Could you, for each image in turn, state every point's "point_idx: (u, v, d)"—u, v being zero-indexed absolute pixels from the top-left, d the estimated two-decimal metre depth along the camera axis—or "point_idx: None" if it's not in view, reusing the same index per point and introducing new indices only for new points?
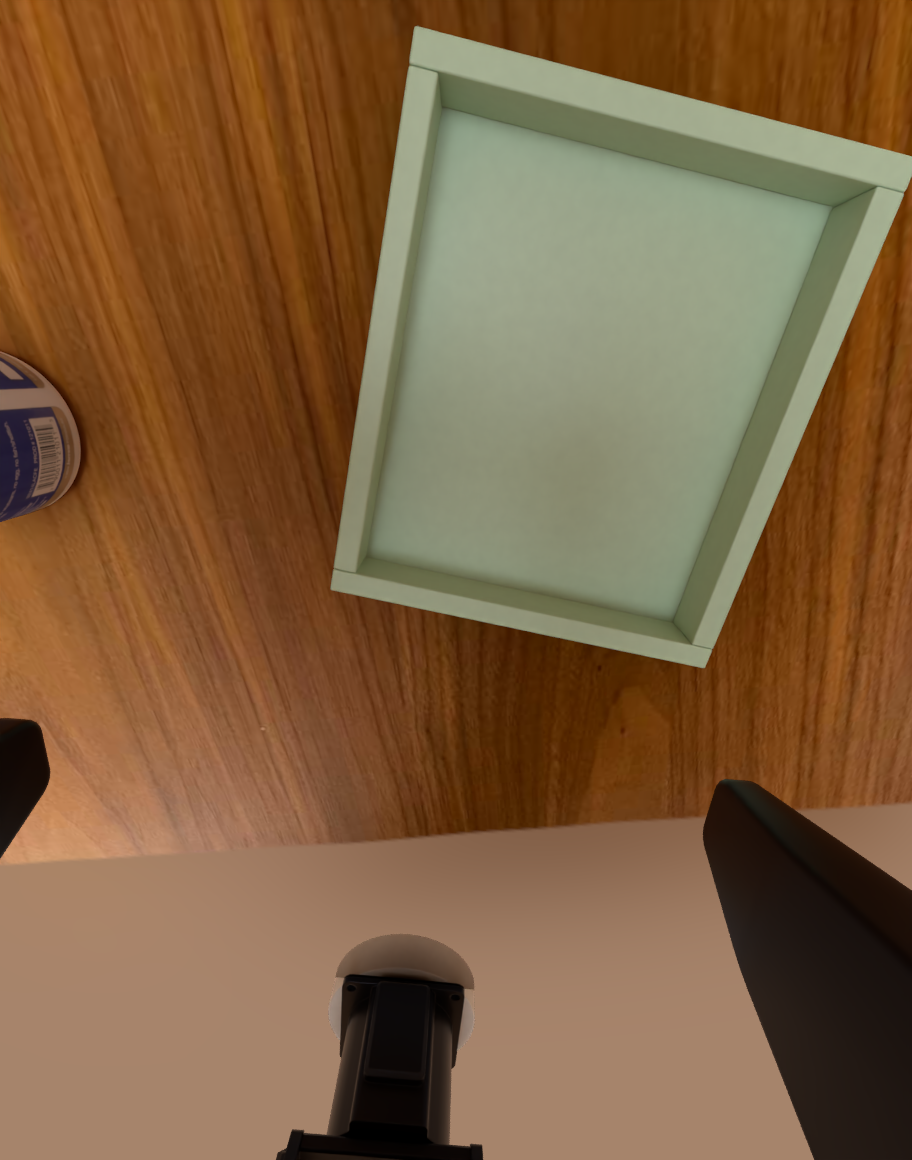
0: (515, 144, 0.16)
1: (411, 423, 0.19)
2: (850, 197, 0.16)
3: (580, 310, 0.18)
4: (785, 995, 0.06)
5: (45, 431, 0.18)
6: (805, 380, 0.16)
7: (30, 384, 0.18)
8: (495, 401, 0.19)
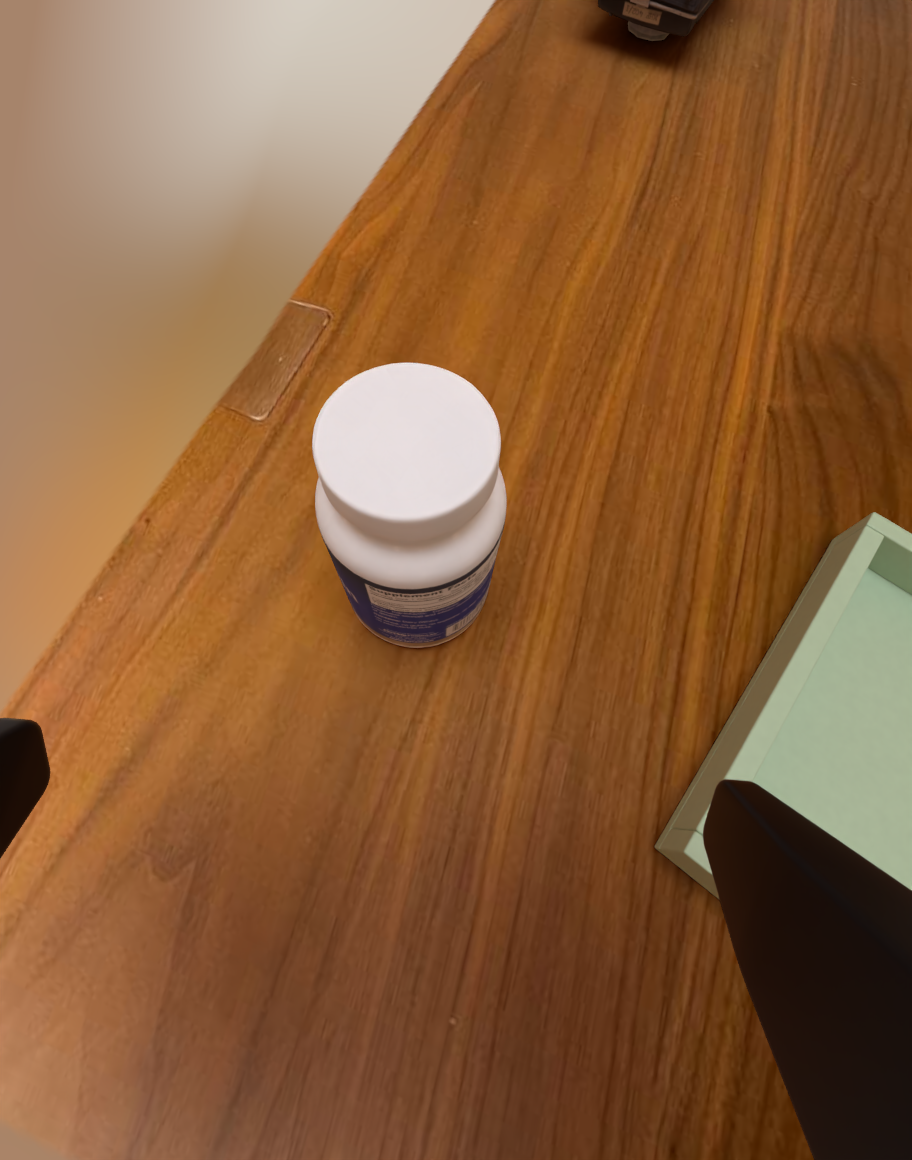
0: (897, 596, 0.23)
1: (775, 738, 0.20)
2: None
3: None
4: (785, 995, 0.06)
5: (487, 592, 0.21)
6: None
7: None
8: (856, 756, 0.20)
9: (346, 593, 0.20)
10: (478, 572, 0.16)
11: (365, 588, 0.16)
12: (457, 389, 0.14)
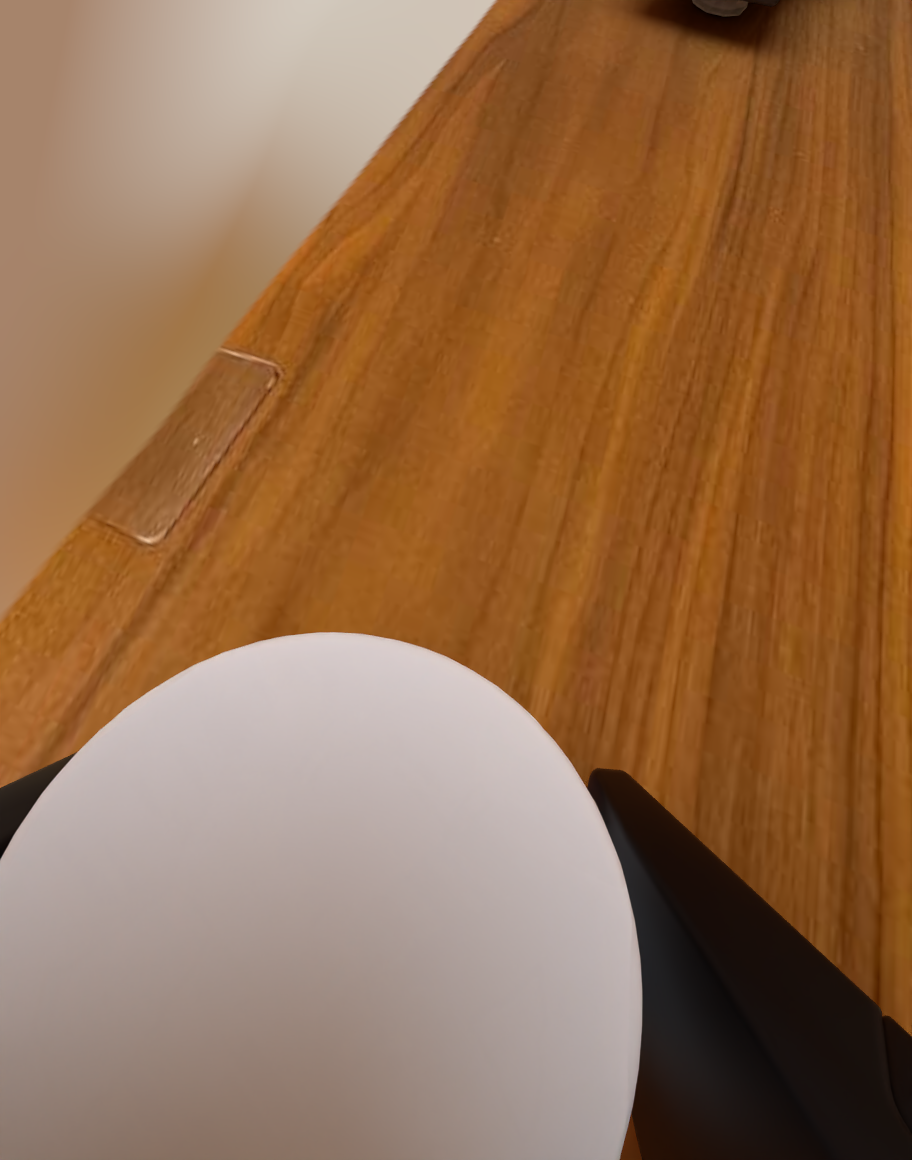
0: None
1: None
2: None
3: None
4: None
5: None
6: None
7: None
8: None
9: None
10: None
11: None
12: (487, 741, 0.04)
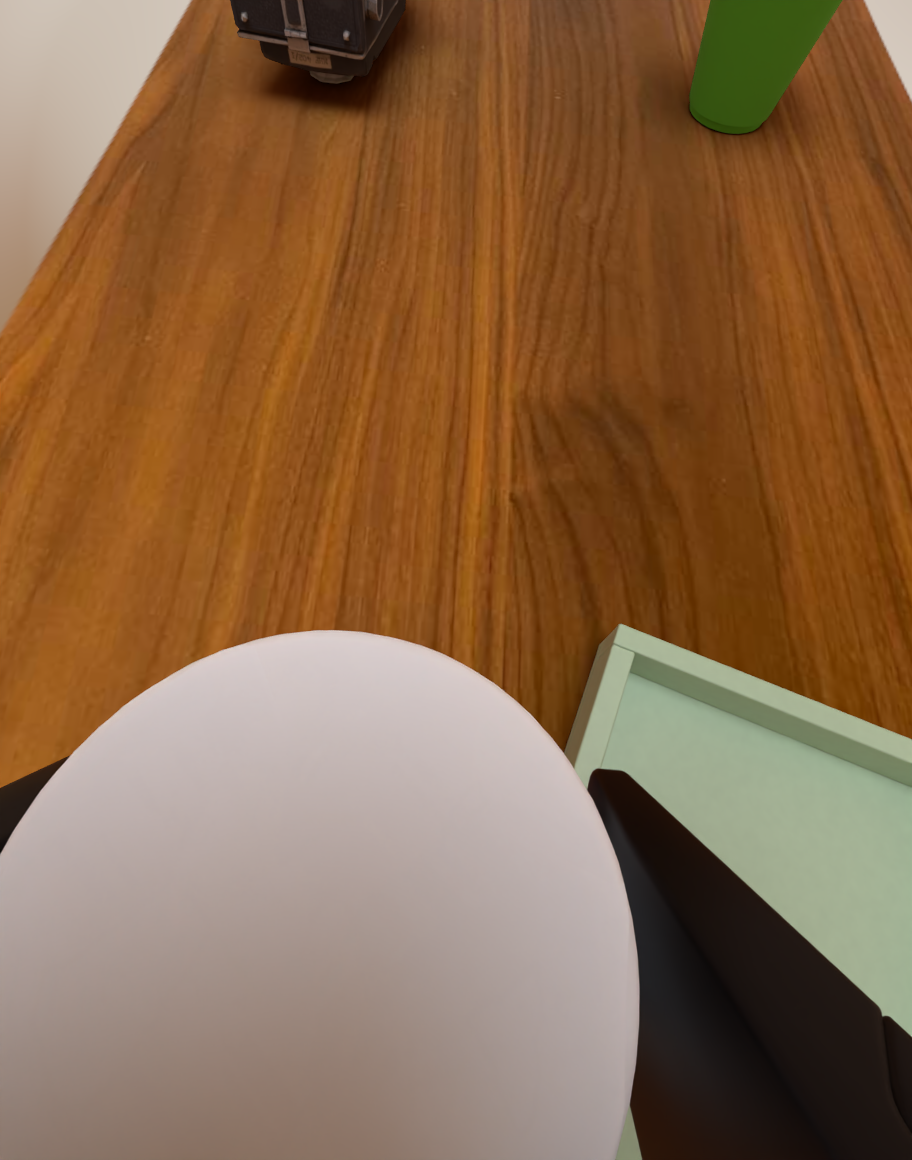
0: (675, 703, 0.20)
1: None
2: None
3: (741, 851, 0.18)
4: None
5: None
6: None
7: None
8: None
9: None
10: None
11: None
12: (485, 738, 0.04)
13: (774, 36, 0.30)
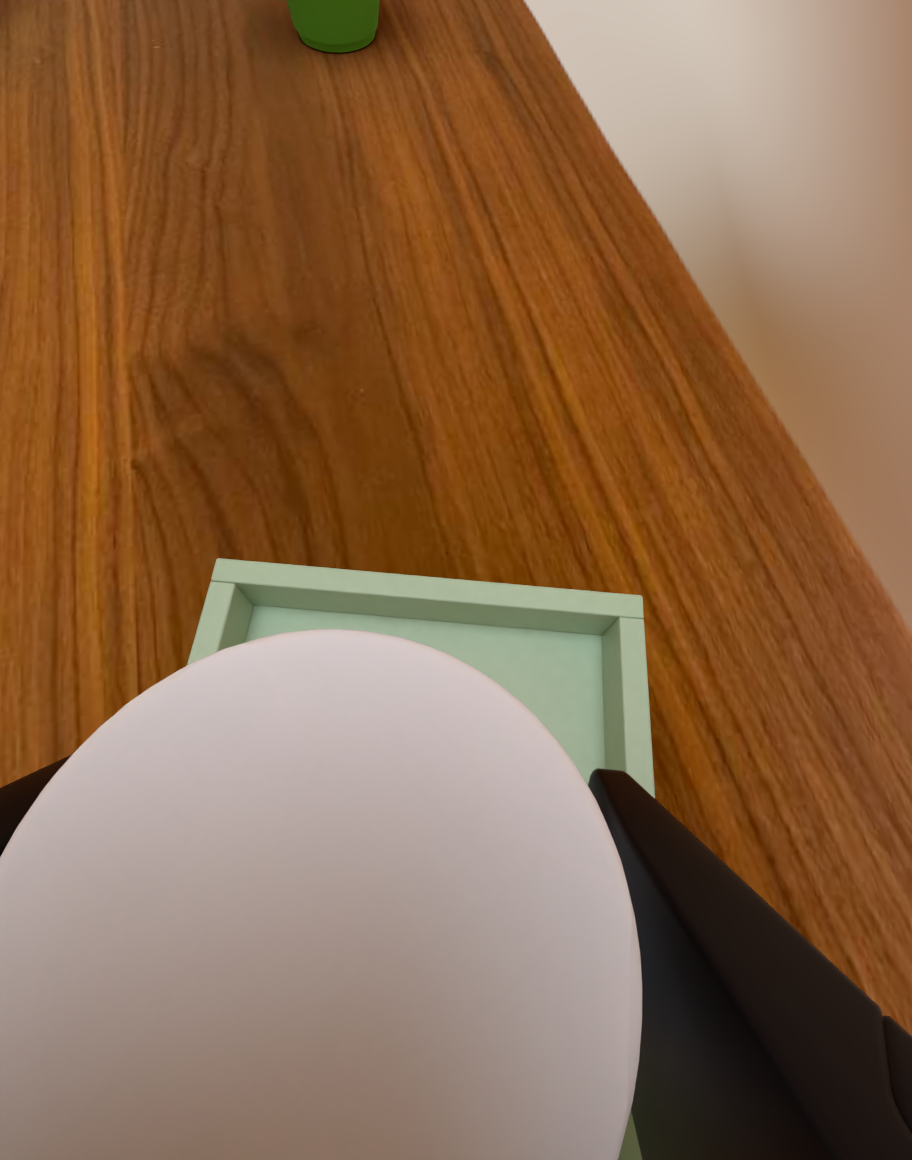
0: (318, 623, 0.19)
1: None
2: (607, 627, 0.18)
3: None
4: None
5: None
6: None
7: None
8: None
9: None
10: None
11: None
12: (487, 737, 0.04)
13: None
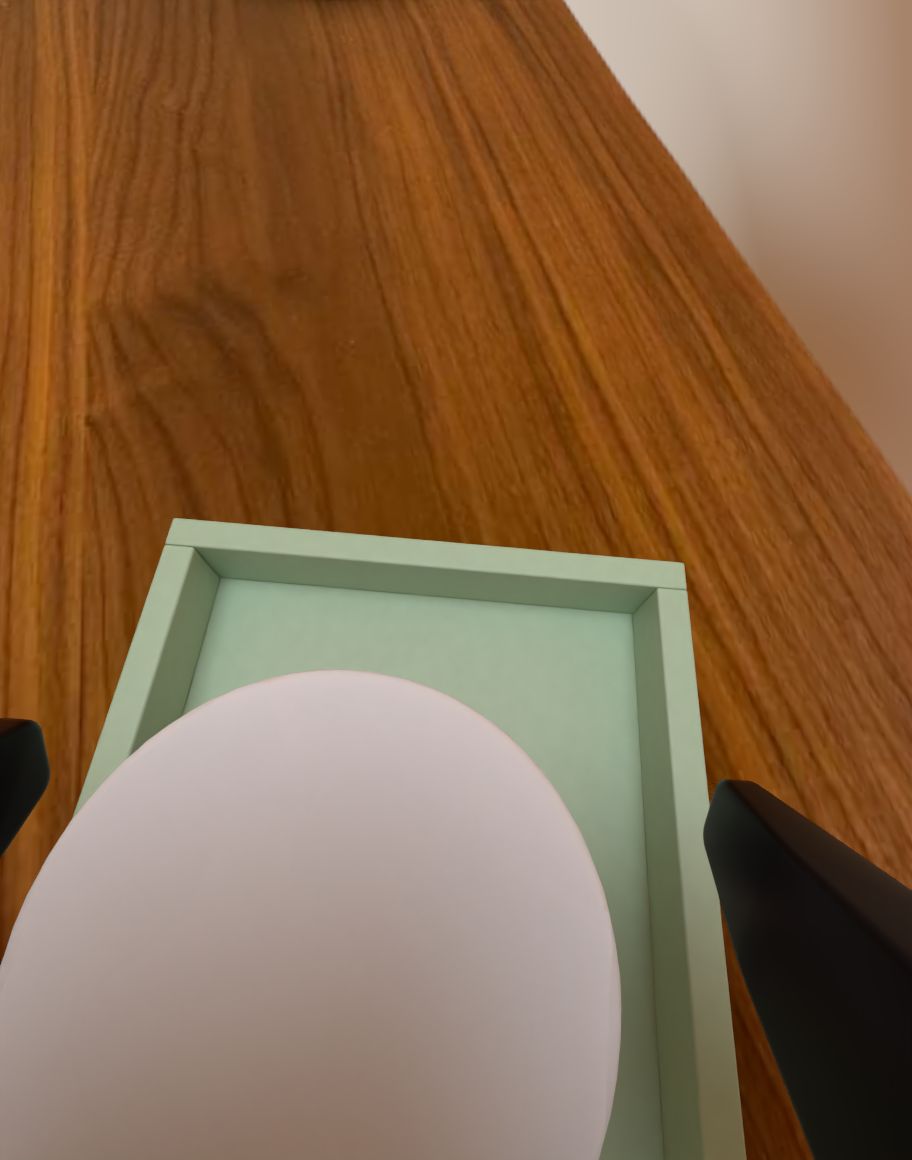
0: (296, 598, 0.16)
1: None
2: (641, 602, 0.15)
3: None
4: (785, 995, 0.06)
5: None
6: (682, 792, 0.12)
7: None
8: None
9: None
10: None
11: None
12: (481, 773, 0.05)
13: None
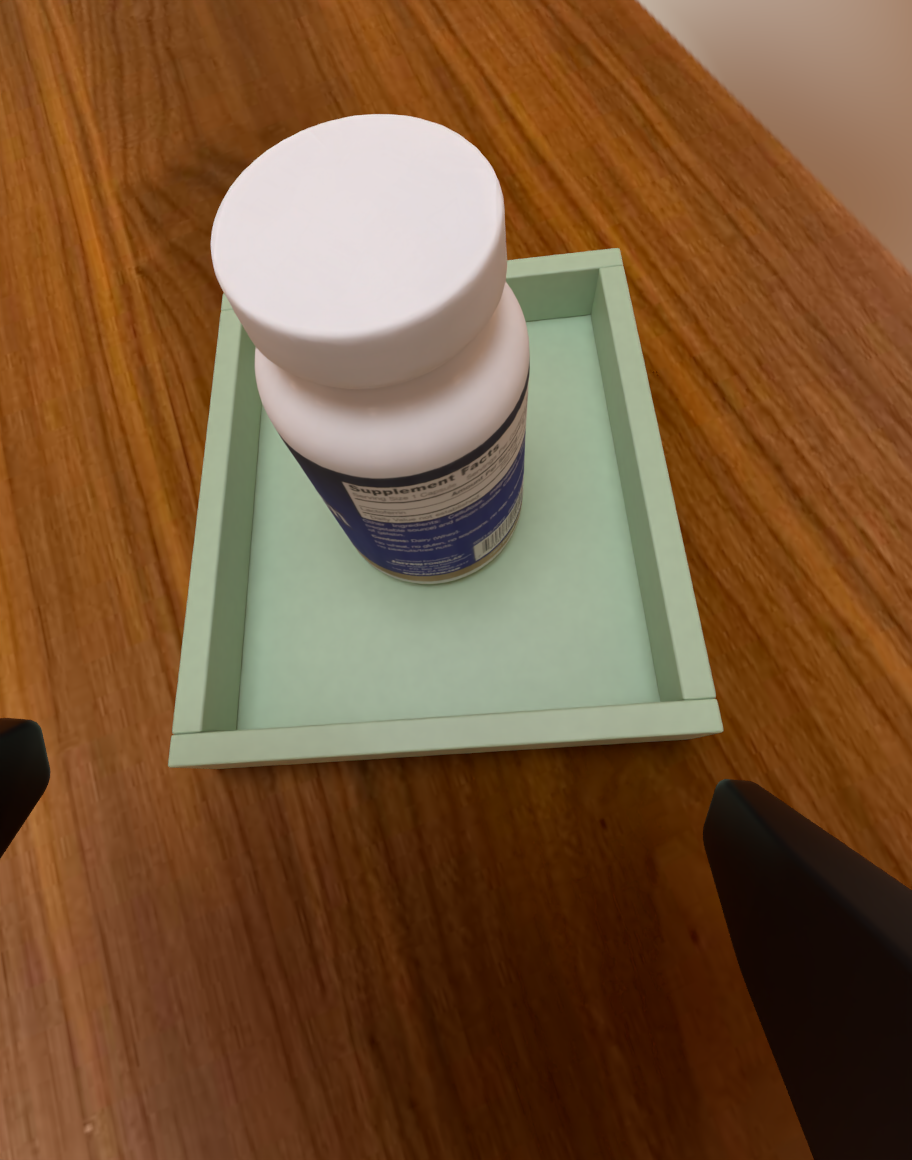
0: None
1: (273, 570, 0.18)
2: (592, 294, 0.19)
3: None
4: (785, 995, 0.06)
5: (521, 495, 0.16)
6: (630, 391, 0.16)
7: None
8: None
9: (338, 522, 0.15)
10: (502, 444, 0.11)
11: (346, 492, 0.11)
12: (424, 137, 0.09)
13: None
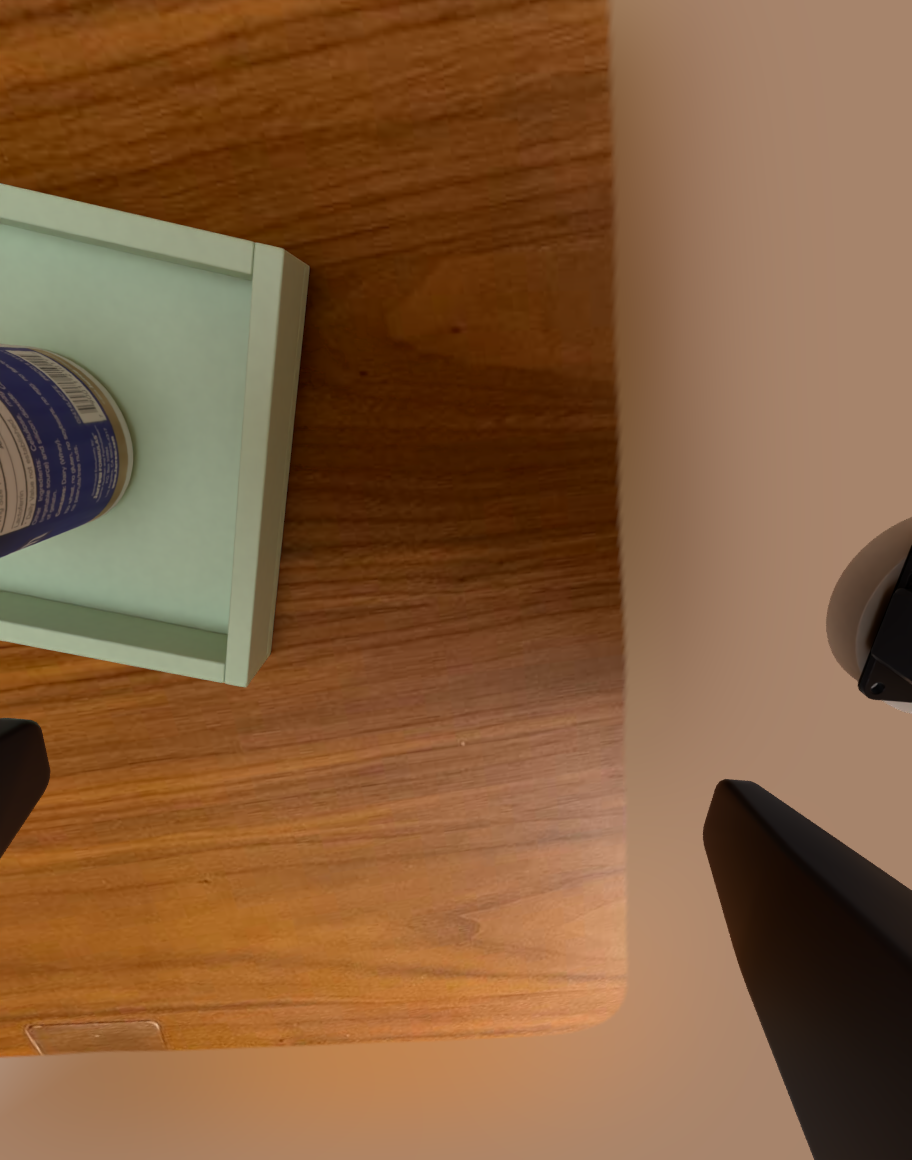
0: None
1: (110, 592, 0.20)
2: None
3: None
4: (785, 995, 0.06)
5: (34, 358, 0.16)
6: None
7: None
8: None
9: None
10: None
11: None
12: None
13: None
